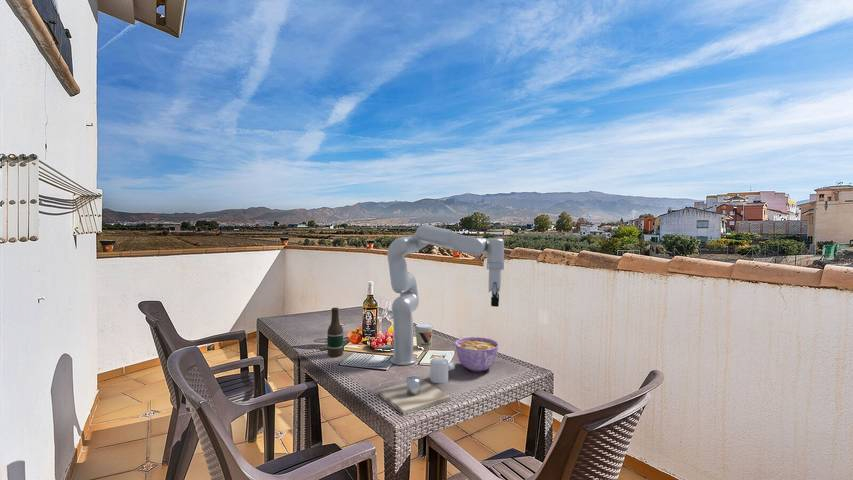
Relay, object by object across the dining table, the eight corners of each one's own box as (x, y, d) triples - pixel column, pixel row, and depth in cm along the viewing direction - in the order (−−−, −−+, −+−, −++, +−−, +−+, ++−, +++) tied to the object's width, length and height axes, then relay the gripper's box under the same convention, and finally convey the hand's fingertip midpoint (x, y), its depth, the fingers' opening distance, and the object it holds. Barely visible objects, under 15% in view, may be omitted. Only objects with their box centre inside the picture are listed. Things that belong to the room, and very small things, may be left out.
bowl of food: (498, 378, 163) (498, 351, 163) (452, 374, 167) (452, 348, 167) (499, 362, 183) (499, 338, 183) (457, 359, 187) (457, 335, 187)
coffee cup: (419, 351, 200) (419, 328, 199) (412, 346, 208) (412, 324, 208) (435, 348, 203) (435, 326, 203) (428, 343, 212) (428, 322, 211)
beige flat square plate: (377, 394, 148) (377, 376, 148) (420, 382, 159) (420, 365, 159) (404, 415, 131) (404, 395, 131) (450, 400, 143) (450, 381, 142)
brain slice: (361, 346, 208) (361, 341, 208) (387, 340, 218) (387, 335, 218) (379, 356, 193) (379, 350, 192) (407, 349, 203) (407, 344, 203)
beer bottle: (346, 354, 195) (346, 307, 194) (335, 358, 188) (334, 310, 187) (335, 351, 199) (335, 305, 198) (324, 355, 192) (323, 308, 191)
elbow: (427, 378, 163) (427, 360, 163) (447, 373, 169) (447, 355, 169) (437, 384, 157) (437, 365, 157) (458, 378, 163) (458, 360, 163)
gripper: (487, 264, 179) (487, 300, 180) (485, 267, 162) (485, 307, 163) (503, 264, 178) (503, 300, 178) (503, 268, 161) (503, 308, 161)
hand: (495, 304), depth 171 cm, fingers open, 9 cm apart
